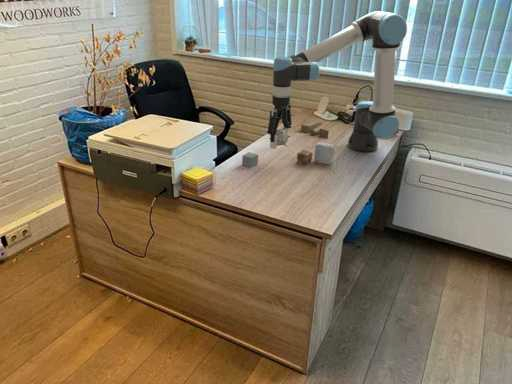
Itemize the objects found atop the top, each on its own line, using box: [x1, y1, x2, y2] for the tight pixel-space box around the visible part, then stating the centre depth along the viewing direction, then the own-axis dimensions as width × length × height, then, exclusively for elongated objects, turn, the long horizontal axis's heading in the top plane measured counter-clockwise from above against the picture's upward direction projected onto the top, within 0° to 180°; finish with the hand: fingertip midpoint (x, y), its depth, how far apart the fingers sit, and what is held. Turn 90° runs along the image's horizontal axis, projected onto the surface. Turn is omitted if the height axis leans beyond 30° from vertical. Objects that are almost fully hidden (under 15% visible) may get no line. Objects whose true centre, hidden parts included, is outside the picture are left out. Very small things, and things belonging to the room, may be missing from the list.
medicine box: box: [313, 141, 335, 166], centre depth 199 cm, size 8×4×9 cm, turn 65°
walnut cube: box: [296, 149, 313, 166], centre depth 199 cm, size 5×5×5 cm
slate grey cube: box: [241, 151, 259, 169], centre depth 194 cm, size 5×5×5 cm
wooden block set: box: [300, 118, 329, 139], centre depth 239 cm, size 17×6×18 cm
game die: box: [268, 127, 291, 147], centre depth 192 cm, size 9×8×10 cm
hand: (279, 144), depth 193 cm, fingers closed on game die, 9 cm apart
